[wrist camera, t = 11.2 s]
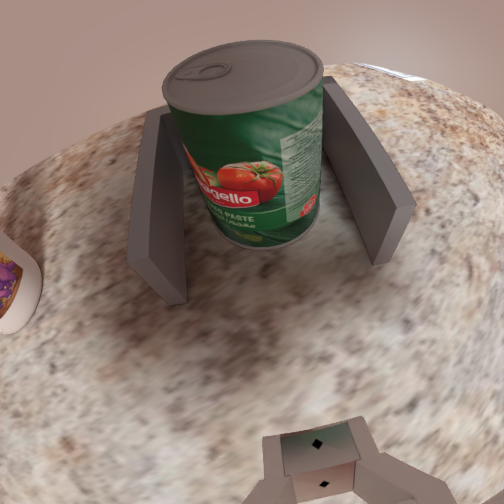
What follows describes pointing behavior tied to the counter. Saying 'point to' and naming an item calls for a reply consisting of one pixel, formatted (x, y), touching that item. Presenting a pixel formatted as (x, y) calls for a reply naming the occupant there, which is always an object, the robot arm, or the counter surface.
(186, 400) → the counter surface
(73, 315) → the counter surface
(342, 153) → the box
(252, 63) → the canned tomato
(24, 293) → the milk bottle
